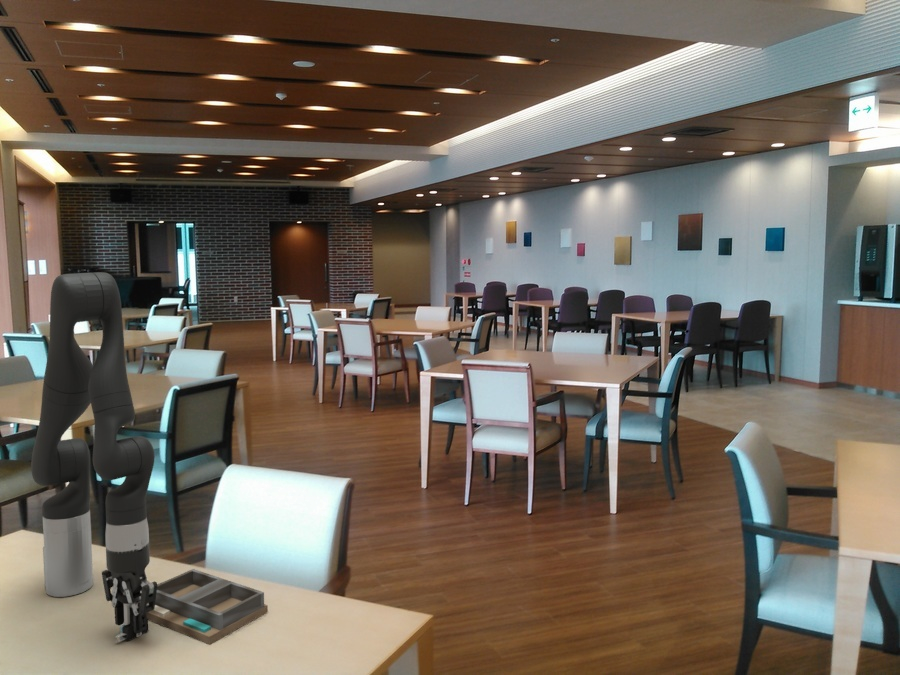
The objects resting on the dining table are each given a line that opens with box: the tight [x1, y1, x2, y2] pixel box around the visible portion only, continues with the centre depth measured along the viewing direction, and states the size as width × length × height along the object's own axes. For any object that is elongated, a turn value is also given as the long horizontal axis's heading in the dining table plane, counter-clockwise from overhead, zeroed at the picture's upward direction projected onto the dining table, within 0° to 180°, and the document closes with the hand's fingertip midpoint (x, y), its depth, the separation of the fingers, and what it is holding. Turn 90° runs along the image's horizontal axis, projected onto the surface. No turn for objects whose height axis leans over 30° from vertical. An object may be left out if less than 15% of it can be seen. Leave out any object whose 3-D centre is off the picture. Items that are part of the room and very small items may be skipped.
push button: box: [114, 590, 149, 644], centre depth 138 cm, size 7×5×10 cm
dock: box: [146, 568, 268, 645], centre depth 148 cm, size 22×15×4 cm
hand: (130, 627), depth 139 cm, fingers open, 5 cm apart
